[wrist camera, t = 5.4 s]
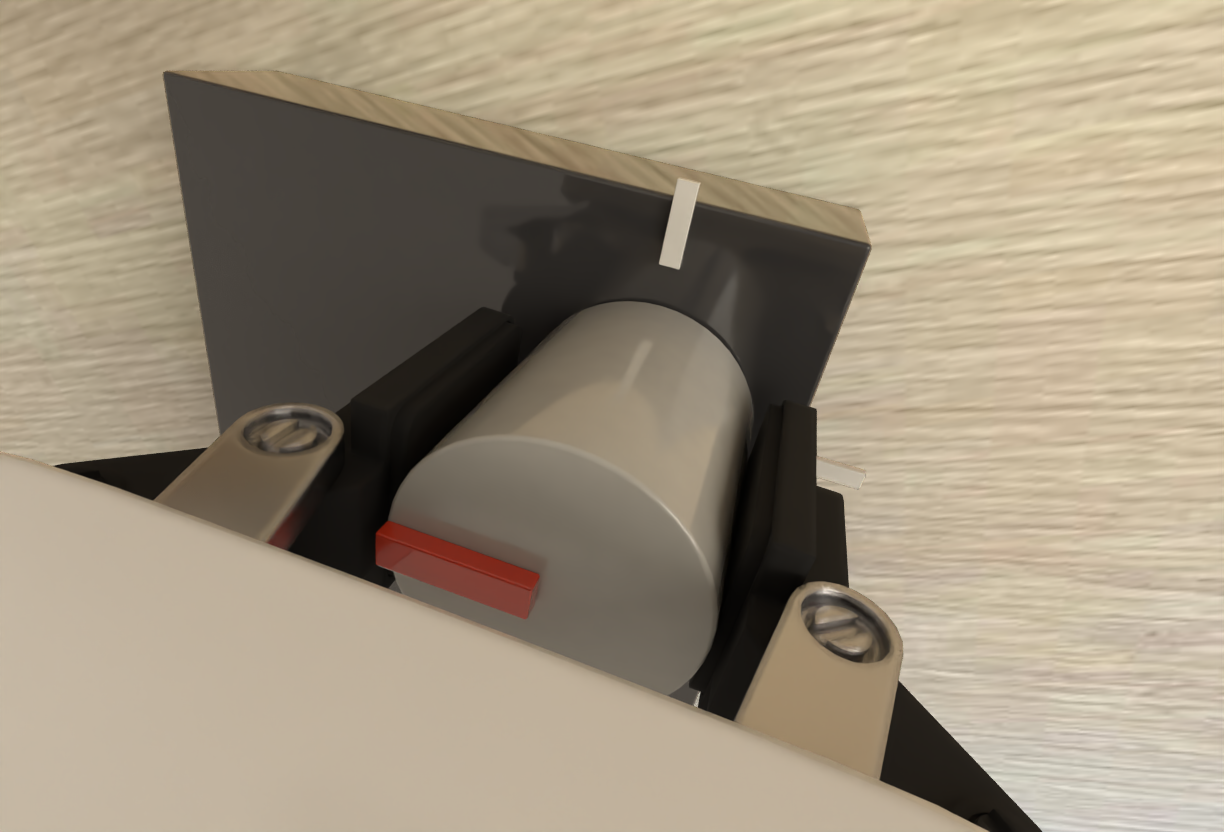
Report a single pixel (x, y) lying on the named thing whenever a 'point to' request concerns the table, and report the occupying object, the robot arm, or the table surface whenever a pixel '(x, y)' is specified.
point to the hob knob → (588, 497)
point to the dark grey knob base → (474, 244)
